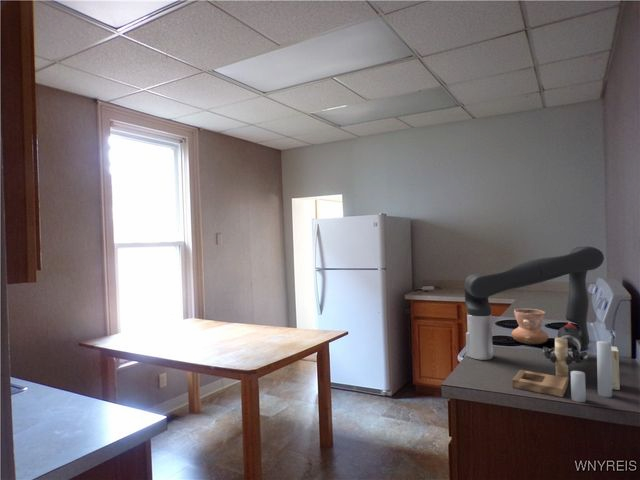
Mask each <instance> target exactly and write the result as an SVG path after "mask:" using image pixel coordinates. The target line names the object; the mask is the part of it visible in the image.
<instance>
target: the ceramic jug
mask: <svg viewBox="0 0 640 480" xmlns="http://www.w3.org/2000/svg"><path fill="white" fill-rule="evenodd" d="M513 314H514V317H515V320H516V322H517V324H518V326H517V327H516V328H515V329H513V330H512V331H511V337H512V338H513V339H514V340H515V341H516V342H519V343H520V344H525V345H541V344H545V343H546V342H547V341H548V339H549V335H548V333H546V331H544V330H543V329H542V328H541V326H542V324H543V321H544V319H545V317H546V312H545V311H544V310H541V309H535V308H515V309H513Z"/></svg>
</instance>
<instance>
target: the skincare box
mask: <svg viewBox="0 0 640 480" xmlns="http://www.w3.org/2000/svg"><path fill="white" fill-rule="evenodd" d="M611 358H612V390H616V391H620V389H621V387H620V384H621V383H620V360H619V349H618V346H613V345H611Z"/></svg>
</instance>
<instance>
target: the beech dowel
mask: <svg viewBox="0 0 640 480" xmlns="http://www.w3.org/2000/svg"><path fill="white" fill-rule="evenodd" d="M554 345H555V363H554V364H555V376H560V377H566V378H568V383H569V365H567V364H566V358H567V356H568V344H567V339H565V338H558V337H555V338H554Z"/></svg>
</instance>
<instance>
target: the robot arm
mask: <svg viewBox="0 0 640 480" xmlns="http://www.w3.org/2000/svg"><path fill="white" fill-rule="evenodd" d="M604 260H605V256H604V253H603V252H602V251H601V250H600V249H598V248H596V247H594V246H575V247H574V248H572V249H571V250H570V251H569V253H568V254H564V255H560V256H558V255H557V256H552V257H551V256H549V257H541V258H536V259H532V260H531V259H530V260H527V261H524V262H520V263H518V264H515V265H514V266H512V267H510V268H507V269H506V270H504V271H500V272H496V273H491V274H481V273H471V274H469V275H468V276H467V277H466V278H465V281H464V287H463V288H464V303H465V304H464V305H465V308H466V320H467V321H466V323H467V332H465V349H466V357H469V358H471V359H476V360H481V361H483V360H485V361H487V360H491V359H492V358H494V355H493V354H494V350H493V316H492V314H493V313H492V306H491V304H490V303H489V301H490V300H489V298H490V297H491V296H494V295H497V294H499V293H503V292H504V291H505V292H506V291H508V290H513V289H518V288H523V287H527V286H532V285H536V284H540V283H543V282H547V281H551V280H554V279H556V278H560V277H563V276H566V275H568V296H567V297H568V298H567V304H566V312H565V320H567V321H568V322H571V323H572V324H573V323H574V324H576V325H577V326H578V328H577V329H575V328H570V327H564V326H562V327H559V329H558V332H557V338H565V339H567V344H568V356H567V358H566V364H567V365H568V366H569V365H572V364H573V363H574V362H575V363H576V364H580V363H584V362H586V361H588V352H586V351H582V352H581V349H586V348H587V347H588V346H589V344H590V335H589V331H588V330H589V329H588V320H587V319H588V313H589V302H590V301H589V296H588V291H587V290H588V289H587V283H586V282H587V281H586V278H587V275H588V274H587V273H588V271H594V270H596V269H598V268H599V267H601V266H602V265H603V263H604ZM542 355H543V356H544V357H545V359H547V360H549V361H550V362H551V363H552V364H553V363H554V364H555V344H554V346H553V347H551V348H548V347H547V346H543V347H542Z"/></svg>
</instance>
